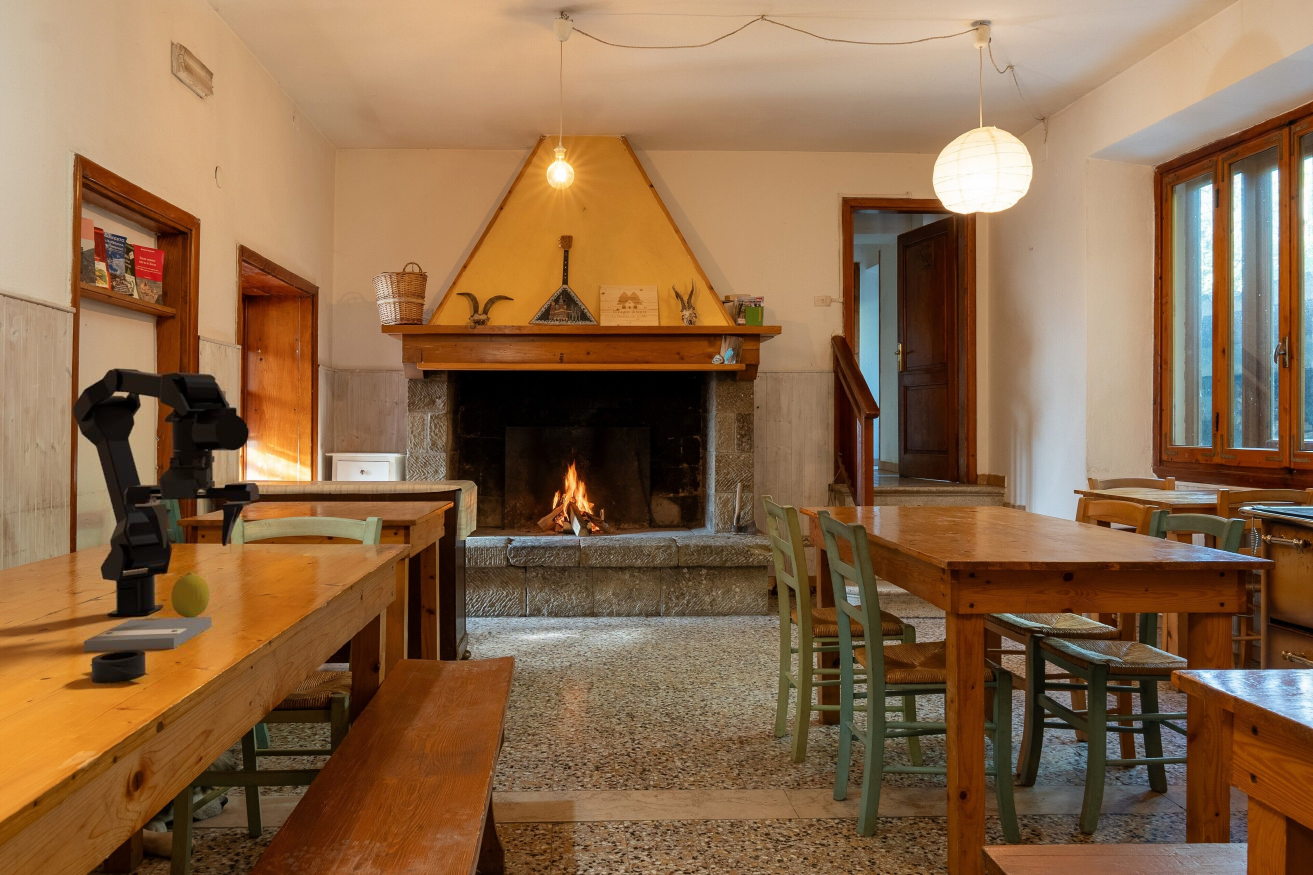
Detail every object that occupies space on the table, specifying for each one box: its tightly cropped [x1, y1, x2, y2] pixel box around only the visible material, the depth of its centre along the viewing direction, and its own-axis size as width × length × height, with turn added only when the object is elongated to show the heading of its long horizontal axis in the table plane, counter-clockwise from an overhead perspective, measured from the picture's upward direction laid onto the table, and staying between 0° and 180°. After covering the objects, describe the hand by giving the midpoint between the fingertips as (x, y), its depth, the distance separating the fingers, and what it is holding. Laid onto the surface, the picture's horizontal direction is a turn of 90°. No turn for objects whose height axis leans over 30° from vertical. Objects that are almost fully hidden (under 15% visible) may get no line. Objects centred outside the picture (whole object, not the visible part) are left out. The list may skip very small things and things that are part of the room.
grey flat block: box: [83, 616, 212, 653], centre depth 131 cm, size 14×12×2 cm
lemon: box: [171, 571, 211, 618], centre depth 143 cm, size 6×6×8 cm
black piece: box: [90, 650, 150, 684], centre depth 111 cm, size 8×10×3 cm
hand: (194, 546), depth 141 cm, fingers open, 9 cm apart
